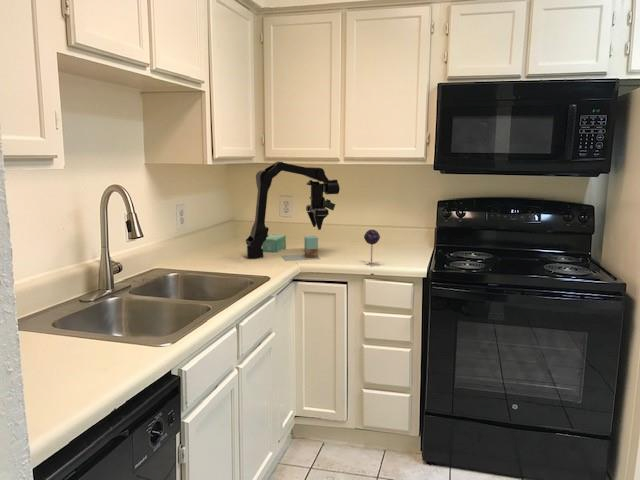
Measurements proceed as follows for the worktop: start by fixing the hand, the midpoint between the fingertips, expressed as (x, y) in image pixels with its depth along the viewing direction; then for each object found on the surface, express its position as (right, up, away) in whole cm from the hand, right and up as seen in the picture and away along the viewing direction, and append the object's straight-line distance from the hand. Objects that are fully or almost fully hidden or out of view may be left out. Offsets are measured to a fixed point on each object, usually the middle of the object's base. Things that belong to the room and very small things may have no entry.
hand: (316, 228), depth 249 cm
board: (-7, -14, -9) cm, 18 cm away
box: (-21, -11, +9) cm, 25 cm away
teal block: (-2, -9, -9) cm, 13 cm away
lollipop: (+24, -16, -17) cm, 33 cm away
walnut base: (-3, -13, -8) cm, 15 cm away
